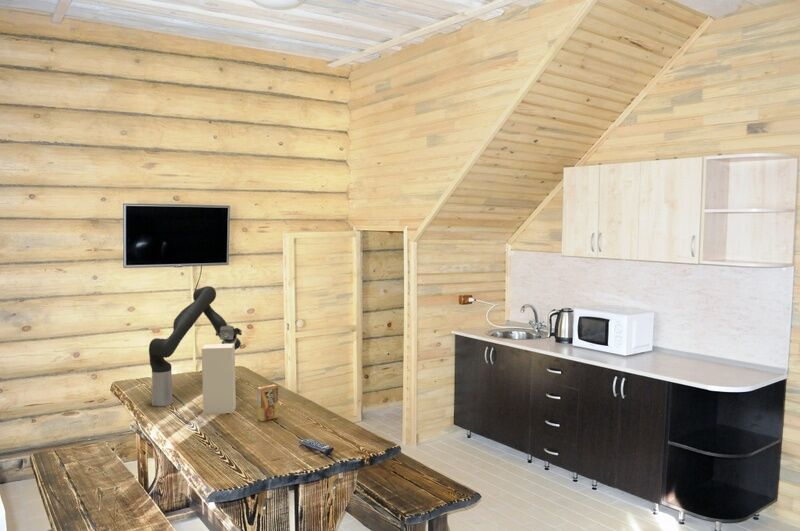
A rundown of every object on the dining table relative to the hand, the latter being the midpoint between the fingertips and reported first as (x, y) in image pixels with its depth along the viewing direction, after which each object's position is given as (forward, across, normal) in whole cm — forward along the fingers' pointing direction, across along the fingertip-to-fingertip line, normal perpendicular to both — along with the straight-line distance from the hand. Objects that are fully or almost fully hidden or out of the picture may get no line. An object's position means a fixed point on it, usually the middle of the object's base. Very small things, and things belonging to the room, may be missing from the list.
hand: (227, 327), depth 324 cm
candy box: (+15, +20, +49) cm, 55 cm away
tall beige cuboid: (0, -3, +42) cm, 42 cm away
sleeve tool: (+1, 0, +4) cm, 4 cm away
